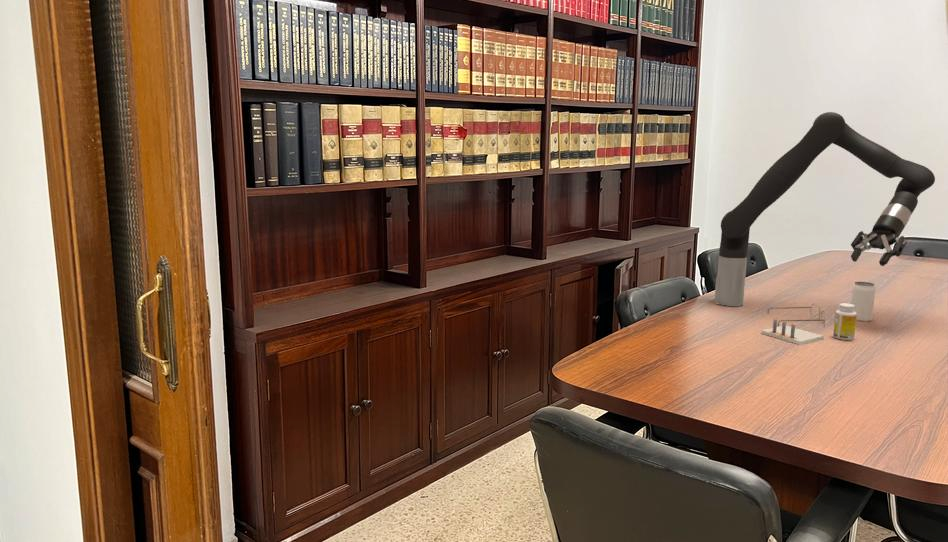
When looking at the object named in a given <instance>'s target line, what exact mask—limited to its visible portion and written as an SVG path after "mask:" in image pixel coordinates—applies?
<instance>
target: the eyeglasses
mask: <svg viewBox="0 0 948 542" xmlns="http://www.w3.org/2000/svg"><path fill="white" fill-rule="evenodd" d="M813 305H815V306H817V307H818V312H819V313H818V319H781V320H779V321H777V327H779V326H780V323H781V322H817V321H818V322H819V321H820V322H821V324H823V326H825V321H826V317H825V316H826V312H825V310H824V309H823V308H822V307H820V306H818V305H817V304H816V303H812V304H811V305H810V306H804V307H803V306H802V307H801V306H800V307H799V306H797V307H794V306H793V307H790V306H789V307H769V308H768V309H767V314H770V310H773V309H774V310H775V309H776V310H777V309H778V310H779V309H782V310H783V309H810V310H809V311H810V312H812V306H813ZM820 309H821V310H822V311H821V310H820ZM810 315H812V316H813V313H810ZM820 318H823V319H820Z"/></svg>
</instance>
